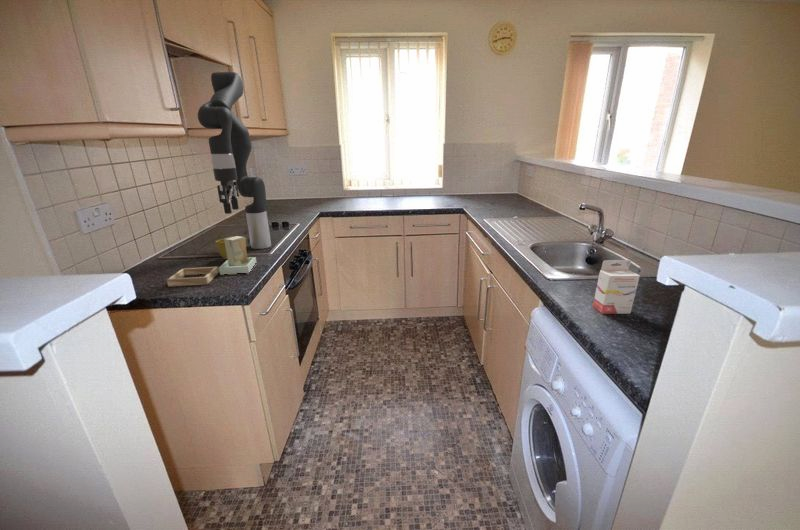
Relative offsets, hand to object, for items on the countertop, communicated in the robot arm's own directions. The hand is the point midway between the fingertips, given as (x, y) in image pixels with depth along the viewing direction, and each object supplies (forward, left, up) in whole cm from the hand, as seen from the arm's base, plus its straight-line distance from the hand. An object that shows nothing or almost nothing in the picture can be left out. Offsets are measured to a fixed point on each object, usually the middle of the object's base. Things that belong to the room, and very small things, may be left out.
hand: (232, 211), depth 129 cm
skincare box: (0, -1, -23) cm, 23 cm away
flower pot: (-14, -7, -23) cm, 28 cm away
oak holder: (+9, -14, -23) cm, 29 cm away
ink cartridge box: (+57, +118, -23) cm, 133 cm away
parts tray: (0, -1, -23) cm, 23 cm away
